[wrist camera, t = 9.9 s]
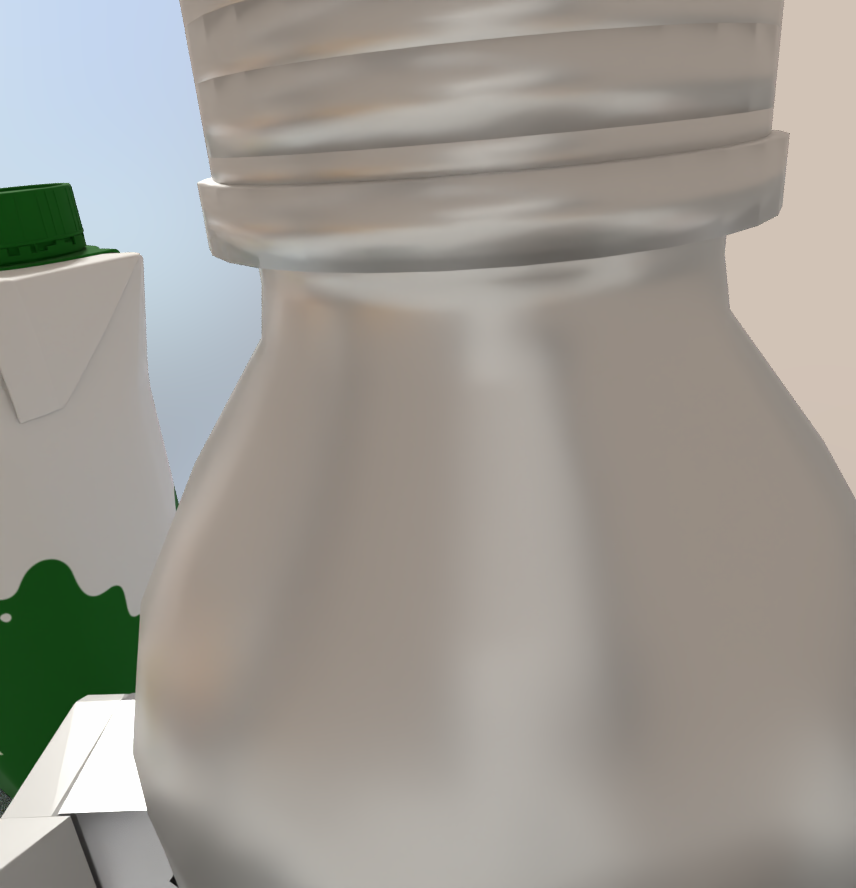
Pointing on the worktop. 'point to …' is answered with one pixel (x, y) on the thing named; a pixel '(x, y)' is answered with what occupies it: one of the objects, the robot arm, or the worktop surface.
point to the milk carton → (71, 470)
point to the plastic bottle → (499, 469)
